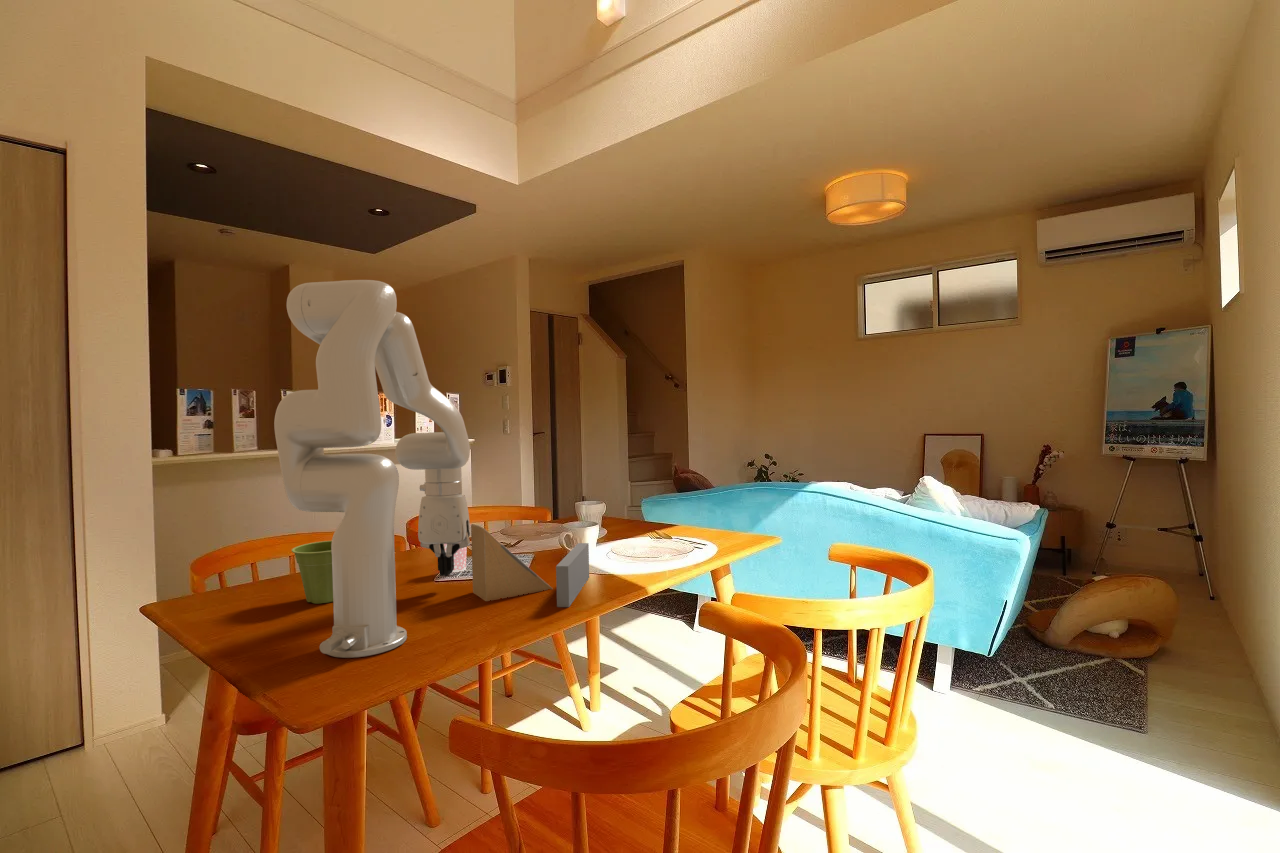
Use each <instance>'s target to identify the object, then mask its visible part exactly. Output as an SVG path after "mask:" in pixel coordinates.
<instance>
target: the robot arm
mask: <svg viewBox="0 0 1280 853" xmlns="http://www.w3.org/2000/svg"><path fill="white" fill-rule="evenodd" d="M397 303H398V302H397V294H396V292H395V290H394V288H393V287H392V286H391V285H390V284H388V283H386V282H384V281H380V280H373V279H351V280H350V279H349V280H334V281H317V282H316V281H315V282H314V281H313V282H304V283H301V284H298V285H296V286H295V287H293V288H292V290H290V292H289V293H288V295H287V298H286V310H287V311H286V312H287V315H288V318H289V319H290V321H291V323H292V324H293V327H295V328H296V329H297V331H298V332H300V333H301V334H303V336H305V337H307V338H308V339H310V340H312V341H313V342H315V343H316V344H318V345H319V347H318V350H317V353H316V357H315V370H316V379H317V387H318V388H317V389H300V390H296V391H292V392H290V393H288V394H287V395H285V396H284V397H283V398H282V399H281V400H280V402H279V403H278V405H277V408H276V409H275V415H274V420H273V421H274V423H273V424H274V425H273V427H274V435H275V436H274V437H275V442H276V447H277V453H278V455H277V456H278V460H279V466H280V471H281V478H282V483H283V488H284V492H285V494H286V497H287V498H286V499H287V500H288V502H289V503H290V504H291V505H292V507H293V508H295V509H297V510H299V511H303V512H306V513H307V512H309V513H310V512H311V513H315V512H316V513H344V515H343V518H342V520H341V521H340V523H339V525H338V526H337V528H336V529H335V530H334V533H333V535H332V538H331V541H332V544H331V552H332V575H333V602H332V603H333V604H332V605H333V626H332V634H331V635H330V637H328V638H326V639H324V640H323V641H322V642H321V643H320V644H319V651H320V653H322V654H324V655H328V656H331V657H334V658H343V659H344V658H345V659H346V658H347V659H351V658H361V657H363V658H364V657H369V656H374V655H375V656H376V655H378V654H382V653H385V652H389V651H391V650H393V649H396V648H398V647H399V646H401V645H403V644H404V643H405V642H406V641H407V638H408V636H407V635H408V634H407V630H406V629H405V628H403V627H401V626H399V625H397V620H398V619H397V595H396V594H397V593H396V592H397V590H396V587H397V585H396V561H395V560H396V559H395V558H396V557H395V554H396V553H395V552H396V551H395V514H396V513H395V512H396V506H397V500H398V499H397V497H398V492H399V486H400V475H399V471H398V468H397V466H396V464H395V463H394V462H393V461H392V460H391V459H389V457H388V458H387V457H386V456H384V455H380V454H374V453H340V454H337V453H336V454H334V453H333V454H330V453H329V454H325V451H324V449H326V448H327V449H332V448H335V449H336V448H358V447H365V446H368V445H372V444H373V443H375V442H376V441H377V440H378V439H379V437H380V435H381V432H382V416H381V415H382V414H381V409H380V406H381V405H380V400H379V393H378V384H377V383H378V382H377V376H378V378H379V383H380V384H381V388H382V392H383V394H384V396H385V398H386V399H387V400H389V402H391V403H393V404H395V405H398V406H399V407H402V408H404V409H406V410H409V411H412V412H415V413H417V414H419V415H421V416H424V417H426V418H428V419H430V420H432V422H433V423H435V424H436V425H437V426H439V427H440V429H441V432H440V431H439V432H435V431H434V432H417V433H416V432H415V433H414V432H413V433H409V434H406V435H404V436H403V437H401V438H400V439H399V440H398V442H397V444H396V446H395V450H394V451H395V458H396V460H397V462H398V464H399V465H401V466H402V467H403V468H405V469H408V470H414V471H415V470H416V471H417V470H418V471H419V470H420V471H422V470H424V475H425V476H424V479H425V480H424V484H419V491H420V492H424V495H425V496H422V497H421V499H420V506H419V513H418V525H417V526H418V527H417V528H418V530H417V532H418V533H417V536H418V537H417V538H418V541H419V542H420V548H424V549H429V550H431V552H433V554H434V556H435V557H436V558H437V571H439V576H445V577H446V576H449V575H452V574H451V573H452V571H453V570H454V554H455V553H456V552H457V551H458V550H459V549H461V548H465V547H467V548H468V547H469V546H471V541H470V536H471V524H470V513H469V508H468V502H467V499H466V496H465V494H463V483H462V482H463V480H462V479H463V478H462V468H463V467H464V466H465V465H467V462H468V461H469V460H470V454H471V447H470V440H469V436H468V432H467V429H466V425H465V421H464V418H463V416H462V414H461V412H460V411H459V410H458V409H459V408H457V407H456V406H455V405H454V403H453V402H451V400H450V399H448V397H446V396H445V395H444V393H442V392H441V391H439V389H437V388H435V386H433V385H432V383H431V382H430V380H429V376H428V371H427V368H426V365H425V363H424V358H423V355H422V351H421V348H420V344H419V341H418V340H419V339H418V338H417V333H416V331H415V327H414V324H413V323H412V320H411V319H410V318H409V317H408V316H407V315H406V314H404V313H403V312H399V311H397ZM376 373H377V374H376ZM376 375H377V376H376ZM444 544H447V548H446V552H445V546H444Z"/></svg>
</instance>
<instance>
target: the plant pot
mask: <svg viewBox="0 0 1280 853" xmlns="http://www.w3.org/2000/svg"><path fill="white" fill-rule="evenodd" d="M331 544H332V540H323V541H314V542H310V543H304V544H301V545H298V546H295V547H292V548H291V552H292V553H293V554H294V556H295V560H296V563H297V564H298V568H299V573H300V576H301V582H302V586H303V591H304V594H305V595H304V596H305V598H306V599H305V600H306V602H307V603H312V604H316V605H317V604H318V605H319V604H320V605H321V604H329V603H333V575H332V552H331Z"/></svg>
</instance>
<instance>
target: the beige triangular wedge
mask: <svg viewBox="0 0 1280 853" xmlns="http://www.w3.org/2000/svg"><path fill="white" fill-rule="evenodd" d="M470 536H471V538H470V539H471V541H470V544H471V568H472V569H471V570H472V571H471V573H472V574H471V575H472V576H471V577H472V593H473V594H474V595H476V596H478V597H479V598H480V599H482V600H483V601H485V602H489V601H490V600H491V601H494V600H501V599H500V598H502V599H507V597H508V598H513V597H518V595H519V596H524V595H527V594H528V593H529V594H534V593H539V592H544V591H548V589H550V590H554V589H553V587H552V586H550V584H548V583H547V582H546V581H545V580H544V579H542V577H540V576H539V575H538V574H537V573H536V572H534V571H533V570H532V569H531V568H530V567H528V565H526V564H525V563H524V562H523V561H522V560H521V559H519V557H517V556H516V555H515V554H513V552H511V551H510V550H509V549H508V548H507V547H506V546H505V545H504V544H502V542H500V541H499V540H498V539H497V538H496V537H494V535H492V533H490V532H489V531H488V530H487V529H486V528H485V527H482V526H480V525H477V524H474V523H471V524H470ZM543 590H544V591H543ZM523 594H524V595H523Z"/></svg>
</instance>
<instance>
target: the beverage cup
mask: <svg viewBox="0 0 1280 853" xmlns="http://www.w3.org/2000/svg"><path fill="white" fill-rule="evenodd" d="M444 546H445V552H446V548H447V544H444ZM467 548H468V547H465V548H461V549H459V550H458V551H457V552H456V553H455V554H454V570H453V571H452V572H459V571H464V570H466V571H467V550H468V549H467Z"/></svg>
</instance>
